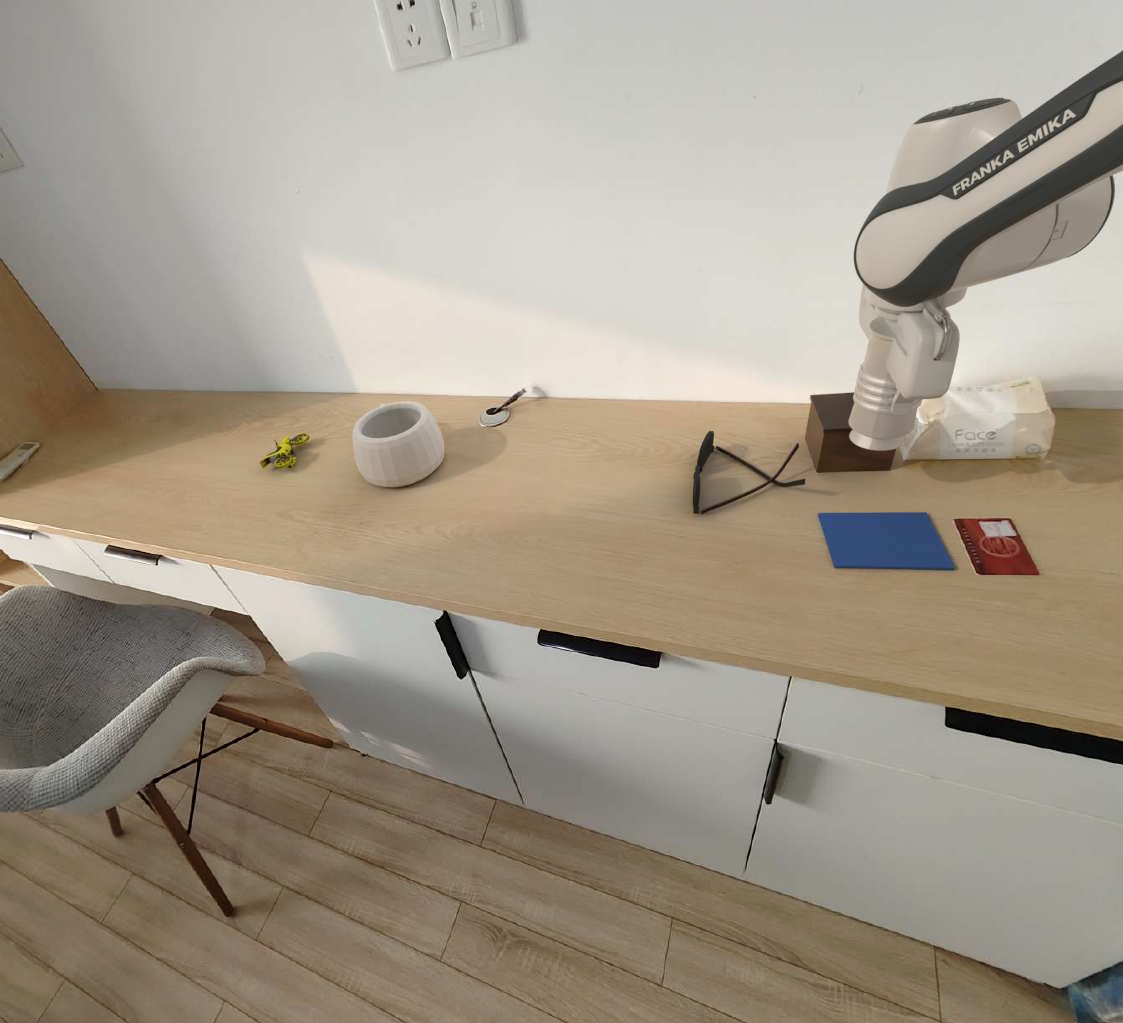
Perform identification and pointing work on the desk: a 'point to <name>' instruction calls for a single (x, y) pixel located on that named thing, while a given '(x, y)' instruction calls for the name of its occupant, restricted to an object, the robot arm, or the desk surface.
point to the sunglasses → (708, 448)
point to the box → (839, 438)
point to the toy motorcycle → (284, 452)
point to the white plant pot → (397, 444)
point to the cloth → (884, 541)
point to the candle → (878, 397)
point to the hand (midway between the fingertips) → (887, 394)
